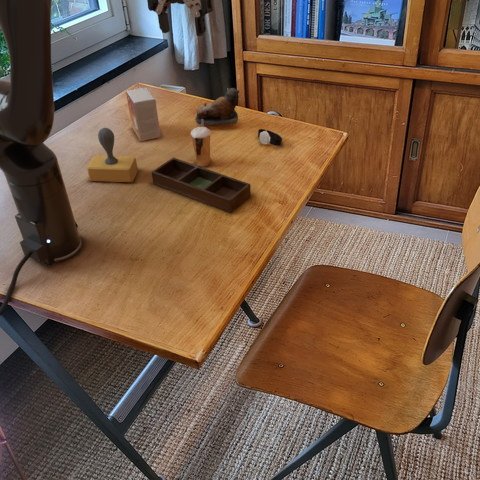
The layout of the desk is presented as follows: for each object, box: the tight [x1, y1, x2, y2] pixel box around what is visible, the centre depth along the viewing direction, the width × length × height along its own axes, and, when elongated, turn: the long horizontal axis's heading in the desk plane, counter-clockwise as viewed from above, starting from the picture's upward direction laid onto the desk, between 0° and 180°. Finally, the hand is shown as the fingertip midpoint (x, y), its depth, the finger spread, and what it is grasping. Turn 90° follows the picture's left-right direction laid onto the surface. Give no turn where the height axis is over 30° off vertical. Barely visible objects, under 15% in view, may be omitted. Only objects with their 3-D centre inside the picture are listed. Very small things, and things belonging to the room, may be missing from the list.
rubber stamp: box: [86, 127, 139, 183], centre depth 131 cm, size 10×6×12 cm, turn 87°
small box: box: [125, 86, 162, 142], centre depth 148 cm, size 8×6×10 cm
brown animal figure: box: [195, 87, 240, 127], centre depth 152 cm, size 12×7×10 cm, turn 85°
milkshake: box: [190, 119, 211, 168], centre depth 137 cm, size 4×5×10 cm
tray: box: [150, 157, 252, 214], centre depth 130 cm, size 8×22×3 cm, turn 58°
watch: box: [257, 128, 283, 147], centre depth 146 cm, size 8×5×4 cm, turn 41°
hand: (183, 33), depth 124 cm, fingers open, 8 cm apart
